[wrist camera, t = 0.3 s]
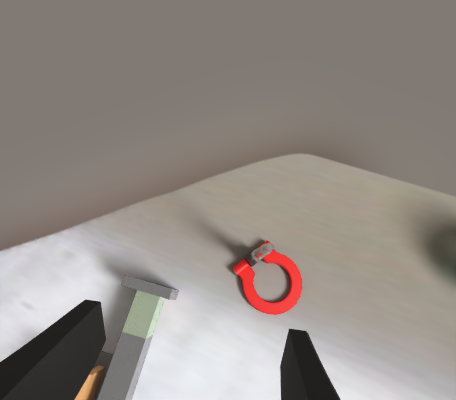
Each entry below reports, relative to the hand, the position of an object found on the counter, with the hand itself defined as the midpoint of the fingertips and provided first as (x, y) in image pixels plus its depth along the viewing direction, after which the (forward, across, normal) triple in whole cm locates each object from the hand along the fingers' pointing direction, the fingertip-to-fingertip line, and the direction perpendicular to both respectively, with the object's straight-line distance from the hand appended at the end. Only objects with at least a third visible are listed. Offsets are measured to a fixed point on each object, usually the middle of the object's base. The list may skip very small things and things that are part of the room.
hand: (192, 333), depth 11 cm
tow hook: (+25, -6, +18) cm, 31 cm away
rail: (+15, +11, +26) cm, 32 cm away
